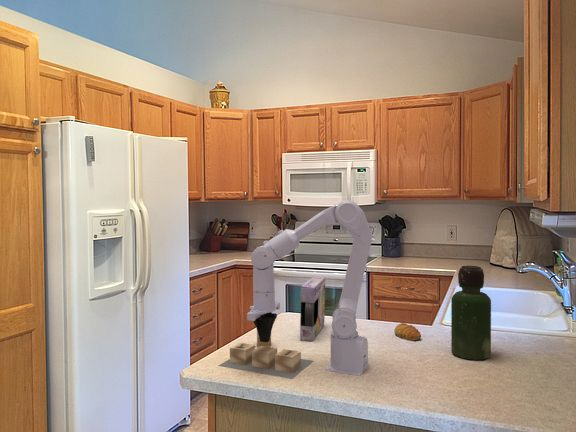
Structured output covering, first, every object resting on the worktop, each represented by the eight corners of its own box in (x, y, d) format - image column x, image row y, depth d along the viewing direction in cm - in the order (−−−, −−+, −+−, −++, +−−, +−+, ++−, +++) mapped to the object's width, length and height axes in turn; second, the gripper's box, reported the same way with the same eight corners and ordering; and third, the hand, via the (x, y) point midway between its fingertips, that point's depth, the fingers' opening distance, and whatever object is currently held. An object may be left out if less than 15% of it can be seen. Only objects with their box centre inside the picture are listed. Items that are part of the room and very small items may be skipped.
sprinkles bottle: (256, 344, 142) (256, 301, 142) (271, 344, 143) (270, 300, 143) (256, 349, 138) (256, 304, 138) (272, 348, 138) (272, 304, 138)
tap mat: (314, 362, 127) (314, 360, 127) (292, 380, 114) (292, 378, 114) (245, 351, 136) (245, 350, 136) (217, 367, 124) (217, 365, 124)
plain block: (277, 362, 125) (277, 348, 125) (268, 368, 121) (268, 353, 121) (261, 360, 128) (261, 345, 128) (252, 366, 123) (251, 351, 123)
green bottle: (496, 354, 132) (496, 266, 131) (482, 363, 124) (482, 270, 123) (460, 346, 139) (460, 263, 138) (445, 355, 131) (445, 267, 130)
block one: (301, 366, 122) (300, 351, 122) (292, 373, 118) (292, 357, 118) (284, 363, 125) (283, 348, 124) (275, 370, 120) (275, 354, 120)
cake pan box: (313, 342, 144) (313, 286, 143) (298, 341, 145) (297, 285, 145) (326, 326, 162) (325, 276, 162) (312, 325, 164) (311, 275, 163)
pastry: (426, 340, 146) (426, 328, 146) (408, 343, 143) (408, 331, 143) (409, 332, 155) (409, 321, 154) (391, 335, 152) (391, 323, 152)
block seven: (255, 359, 129) (254, 344, 128) (245, 364, 124) (245, 349, 124) (239, 356, 131) (239, 342, 131) (229, 362, 126) (229, 347, 126)
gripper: (264, 285, 132) (264, 332, 132) (236, 294, 119) (237, 347, 119) (286, 286, 129) (286, 335, 129) (260, 297, 116) (261, 350, 116)
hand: (264, 341), depth 124 cm, fingers closed
